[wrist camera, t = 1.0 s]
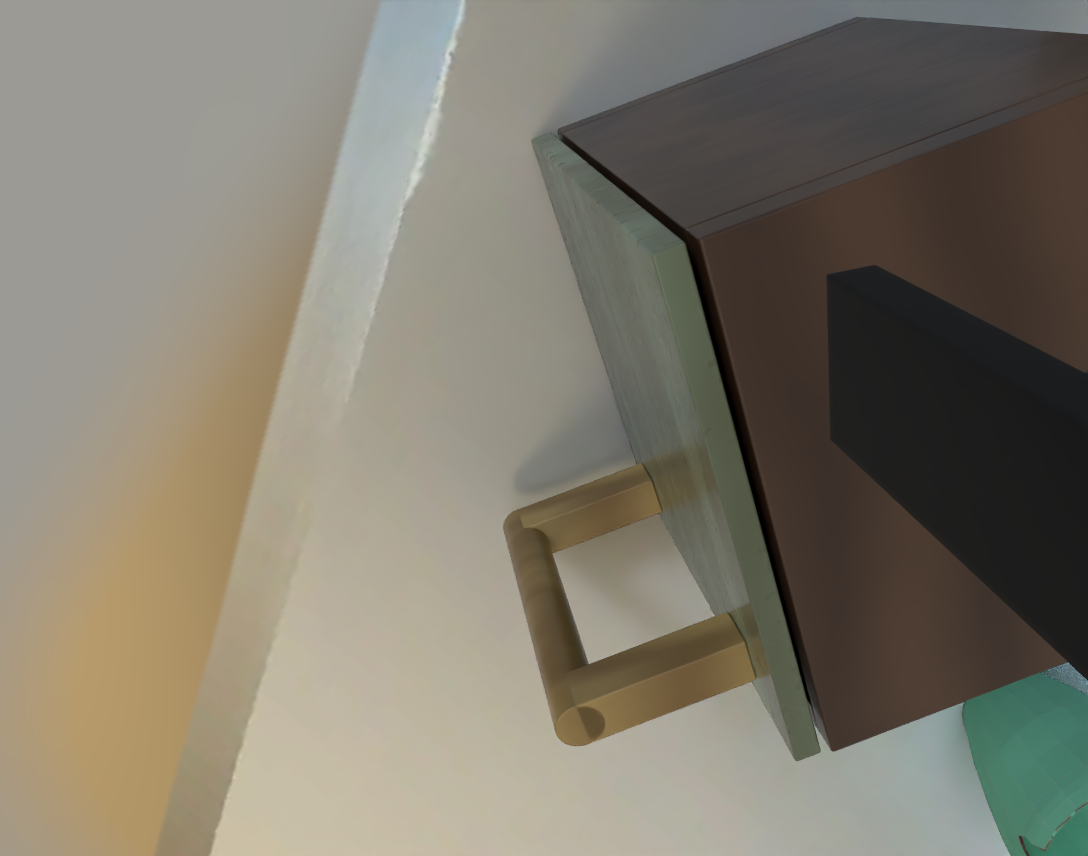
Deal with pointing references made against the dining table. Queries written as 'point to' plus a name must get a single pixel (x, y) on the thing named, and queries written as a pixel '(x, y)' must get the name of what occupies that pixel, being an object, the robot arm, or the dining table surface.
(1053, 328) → the cupboard
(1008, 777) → the mug
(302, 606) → the dining table surface
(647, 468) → the cupboard door
